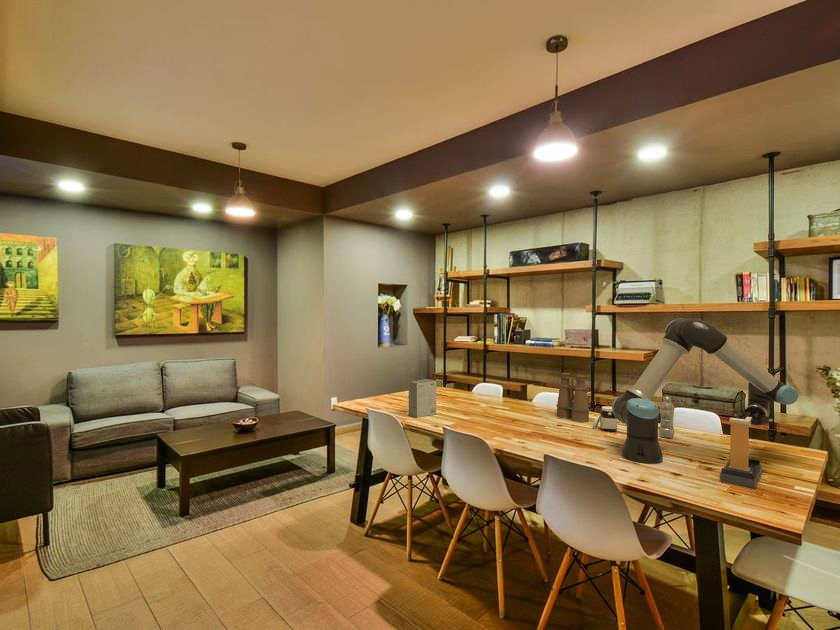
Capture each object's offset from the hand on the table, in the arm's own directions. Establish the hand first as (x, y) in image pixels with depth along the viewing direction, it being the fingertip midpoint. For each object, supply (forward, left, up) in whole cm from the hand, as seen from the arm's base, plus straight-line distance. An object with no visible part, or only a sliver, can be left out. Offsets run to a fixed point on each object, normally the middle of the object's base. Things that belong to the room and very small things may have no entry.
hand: (747, 422), depth 173 cm
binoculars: (-15, +93, -18) cm, 96 cm away
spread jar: (-13, +67, -18) cm, 71 cm away
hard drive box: (-97, +118, -18) cm, 154 cm away
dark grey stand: (-8, -5, -18) cm, 20 cm away
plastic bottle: (+7, +47, -18) cm, 51 cm away
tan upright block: (-13, -8, -15) cm, 21 cm away
